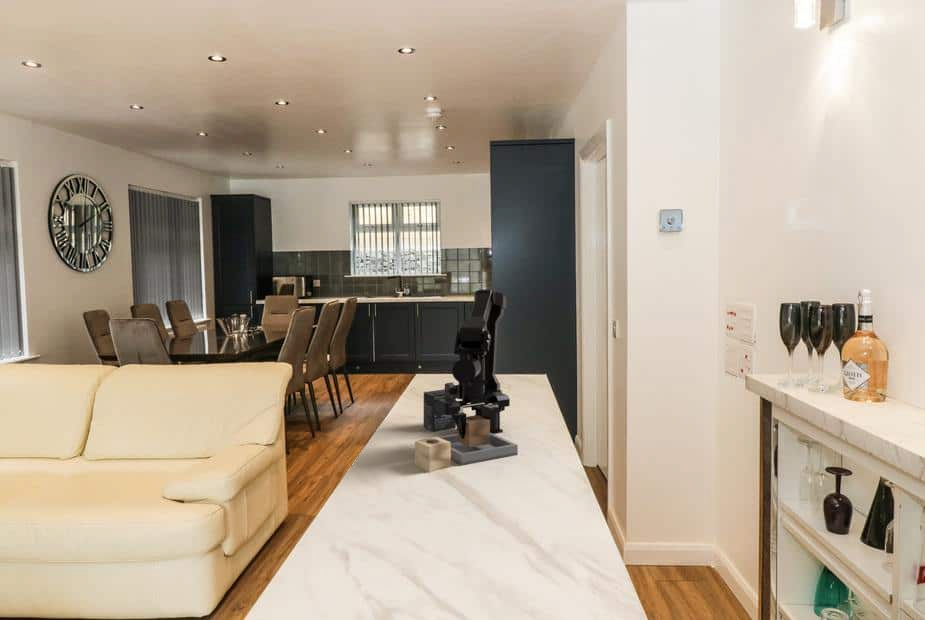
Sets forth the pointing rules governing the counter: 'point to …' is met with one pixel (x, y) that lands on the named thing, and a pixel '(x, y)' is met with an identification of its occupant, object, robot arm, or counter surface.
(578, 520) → the counter surface
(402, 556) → the counter surface
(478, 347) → the robot arm
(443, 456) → the block
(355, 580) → the counter surface
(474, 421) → the block
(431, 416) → the box
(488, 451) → the tray
